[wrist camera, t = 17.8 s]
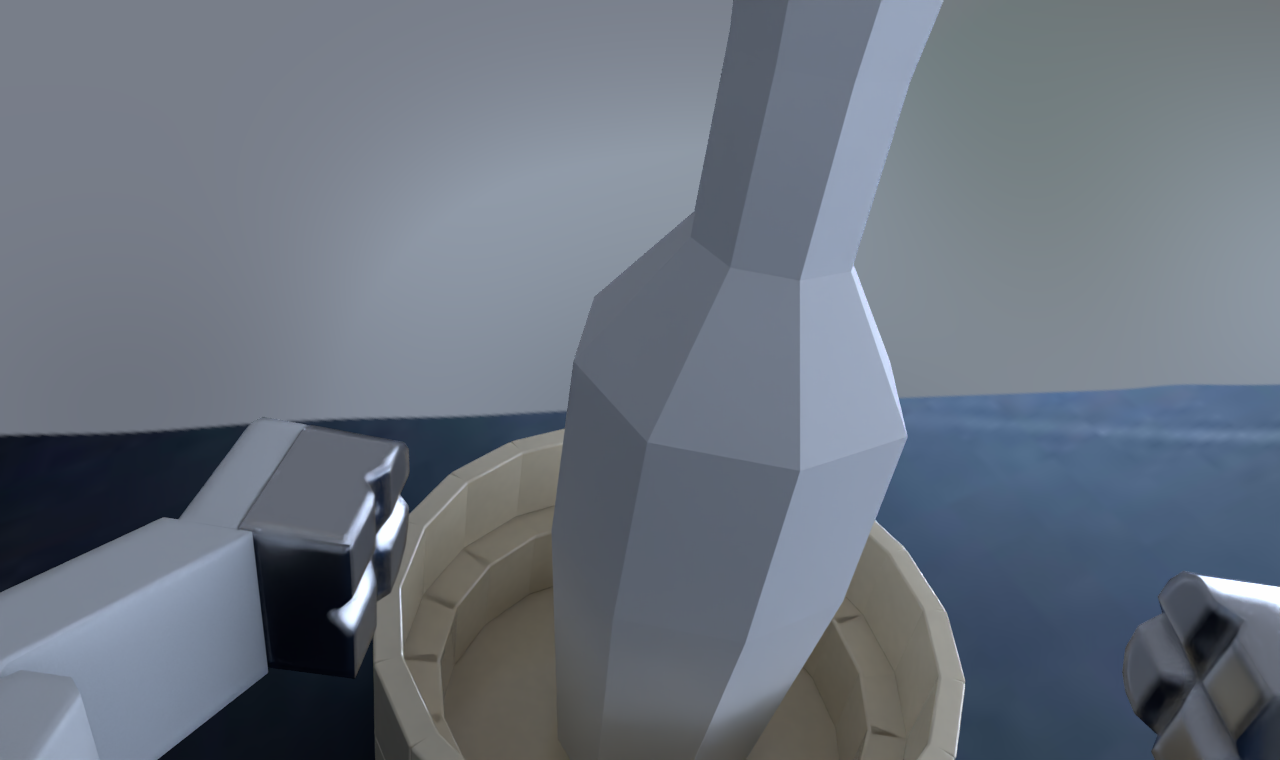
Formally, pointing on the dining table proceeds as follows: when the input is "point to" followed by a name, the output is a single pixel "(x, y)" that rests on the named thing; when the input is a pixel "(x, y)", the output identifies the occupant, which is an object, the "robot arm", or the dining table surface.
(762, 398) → the faceted bottle
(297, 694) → the dining table surface
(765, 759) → the bowl
